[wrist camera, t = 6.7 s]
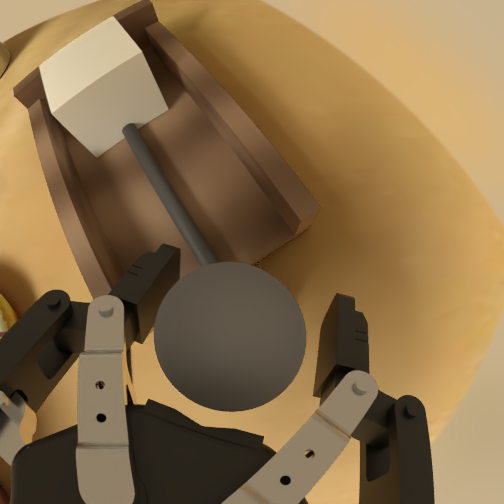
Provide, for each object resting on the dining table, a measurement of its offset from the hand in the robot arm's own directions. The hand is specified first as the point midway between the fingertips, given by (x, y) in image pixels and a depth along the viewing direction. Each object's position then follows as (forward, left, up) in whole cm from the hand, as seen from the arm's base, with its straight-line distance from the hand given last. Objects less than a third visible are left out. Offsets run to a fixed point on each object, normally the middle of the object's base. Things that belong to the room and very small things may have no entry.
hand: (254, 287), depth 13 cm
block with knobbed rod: (-8, -1, -4) cm, 9 cm away
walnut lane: (-11, -1, -5) cm, 13 cm away
